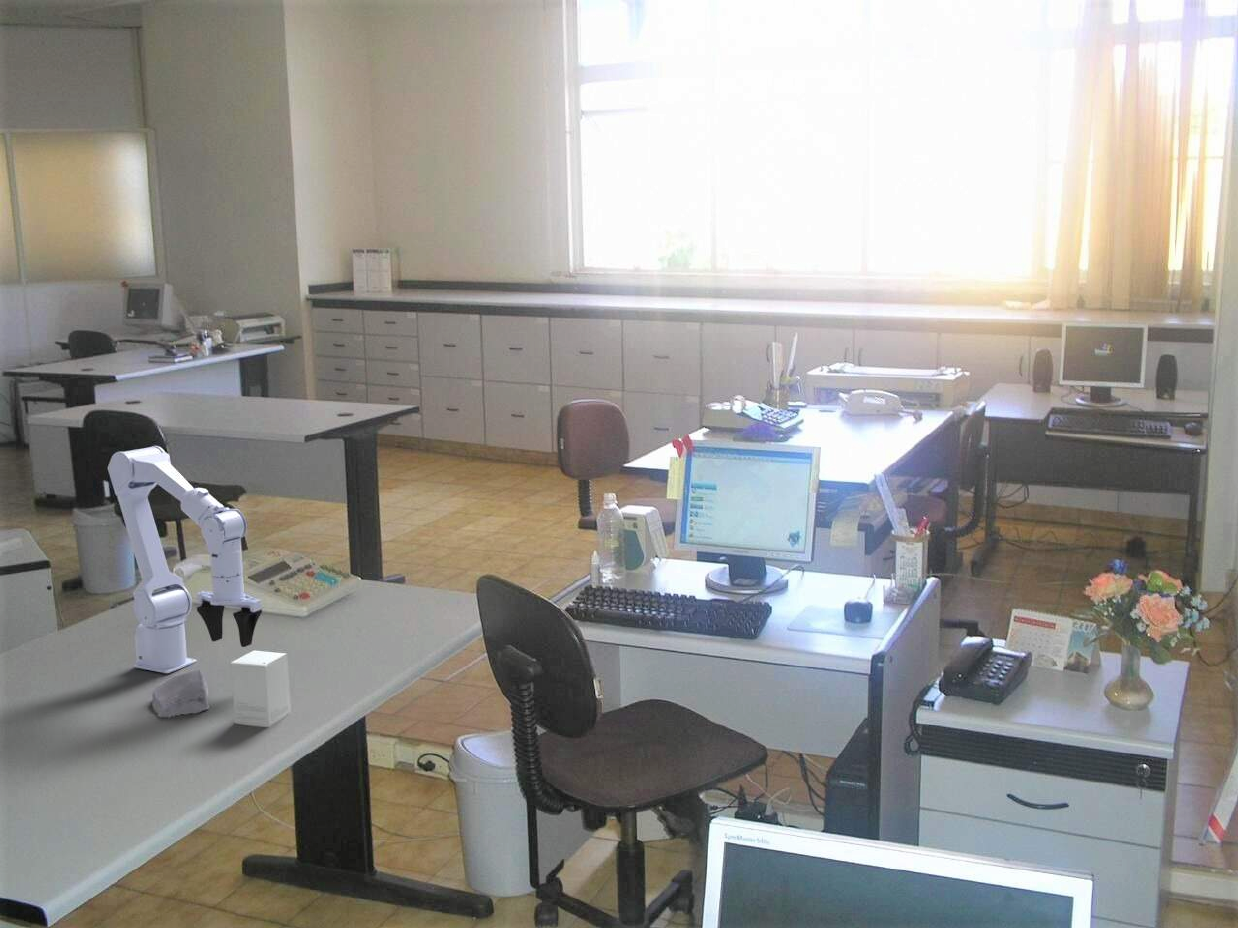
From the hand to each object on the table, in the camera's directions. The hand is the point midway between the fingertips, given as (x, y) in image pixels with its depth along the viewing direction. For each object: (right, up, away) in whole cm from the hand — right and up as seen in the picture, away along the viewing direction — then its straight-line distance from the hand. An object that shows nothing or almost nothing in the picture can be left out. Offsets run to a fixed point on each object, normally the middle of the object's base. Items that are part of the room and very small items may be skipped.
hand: (231, 642), depth 241 cm
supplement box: (+11, -13, -15) cm, 23 cm away
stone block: (-12, -9, -11) cm, 18 cm away
